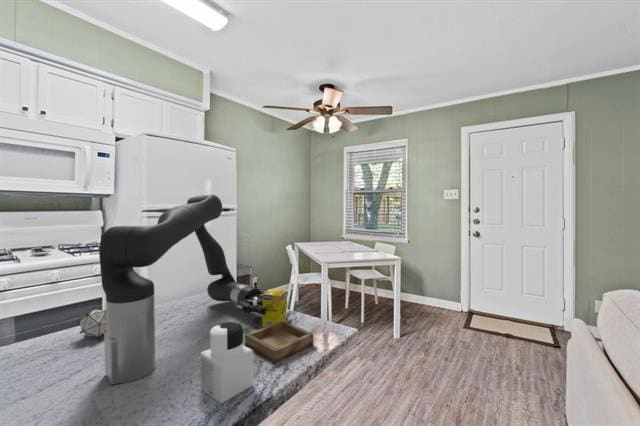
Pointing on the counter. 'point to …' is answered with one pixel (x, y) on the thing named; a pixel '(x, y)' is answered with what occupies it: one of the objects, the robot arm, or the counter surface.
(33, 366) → the counter surface
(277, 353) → the tray
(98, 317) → the game die
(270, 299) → the supplement box
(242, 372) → the container
